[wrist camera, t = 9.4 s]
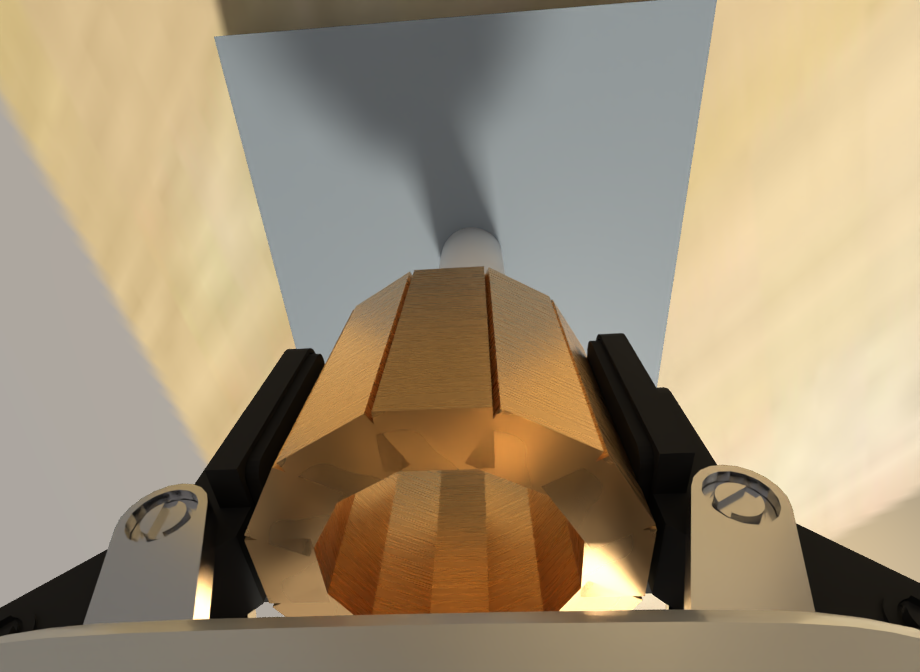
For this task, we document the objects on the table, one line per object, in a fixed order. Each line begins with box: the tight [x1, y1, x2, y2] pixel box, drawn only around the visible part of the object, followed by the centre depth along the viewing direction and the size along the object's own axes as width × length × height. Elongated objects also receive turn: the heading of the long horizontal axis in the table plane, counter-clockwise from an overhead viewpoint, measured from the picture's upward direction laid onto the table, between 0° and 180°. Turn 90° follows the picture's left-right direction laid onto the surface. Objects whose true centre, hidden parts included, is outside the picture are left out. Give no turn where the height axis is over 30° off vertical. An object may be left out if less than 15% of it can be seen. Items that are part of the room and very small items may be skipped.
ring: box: [244, 266, 657, 617], centre depth 10 cm, size 6×6×5 cm
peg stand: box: [214, 0, 717, 388], centre depth 17 cm, size 16×16×8 cm
